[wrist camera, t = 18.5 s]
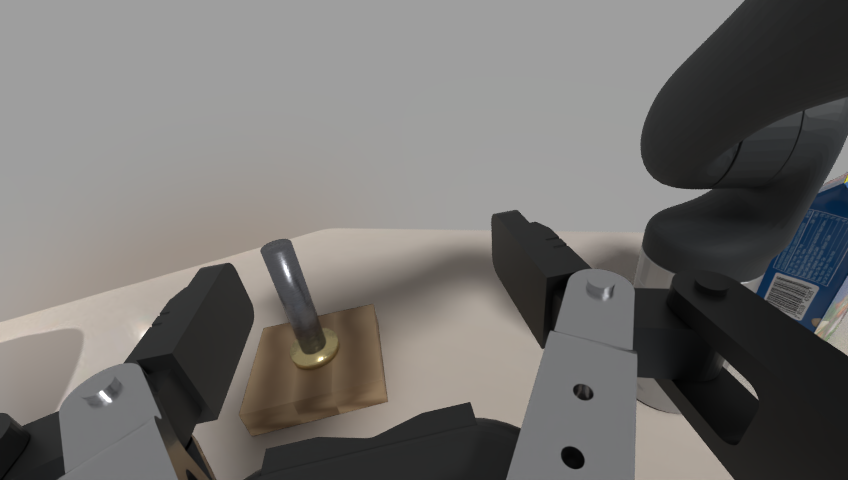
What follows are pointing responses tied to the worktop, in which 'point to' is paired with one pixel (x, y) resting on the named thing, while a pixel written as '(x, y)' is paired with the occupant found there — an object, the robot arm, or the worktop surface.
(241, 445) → the worktop surface
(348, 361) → the wooden base block
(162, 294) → the worktop surface
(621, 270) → the worktop surface
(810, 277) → the blue food package
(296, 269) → the steel pin
